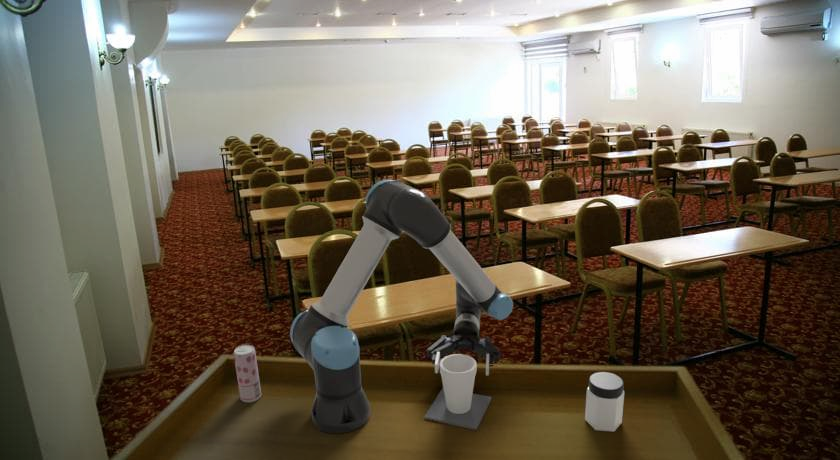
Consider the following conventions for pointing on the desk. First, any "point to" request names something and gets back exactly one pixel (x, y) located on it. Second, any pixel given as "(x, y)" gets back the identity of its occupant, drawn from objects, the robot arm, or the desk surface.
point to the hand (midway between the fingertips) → (461, 369)
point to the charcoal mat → (462, 420)
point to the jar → (604, 401)
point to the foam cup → (458, 381)
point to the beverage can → (247, 373)
